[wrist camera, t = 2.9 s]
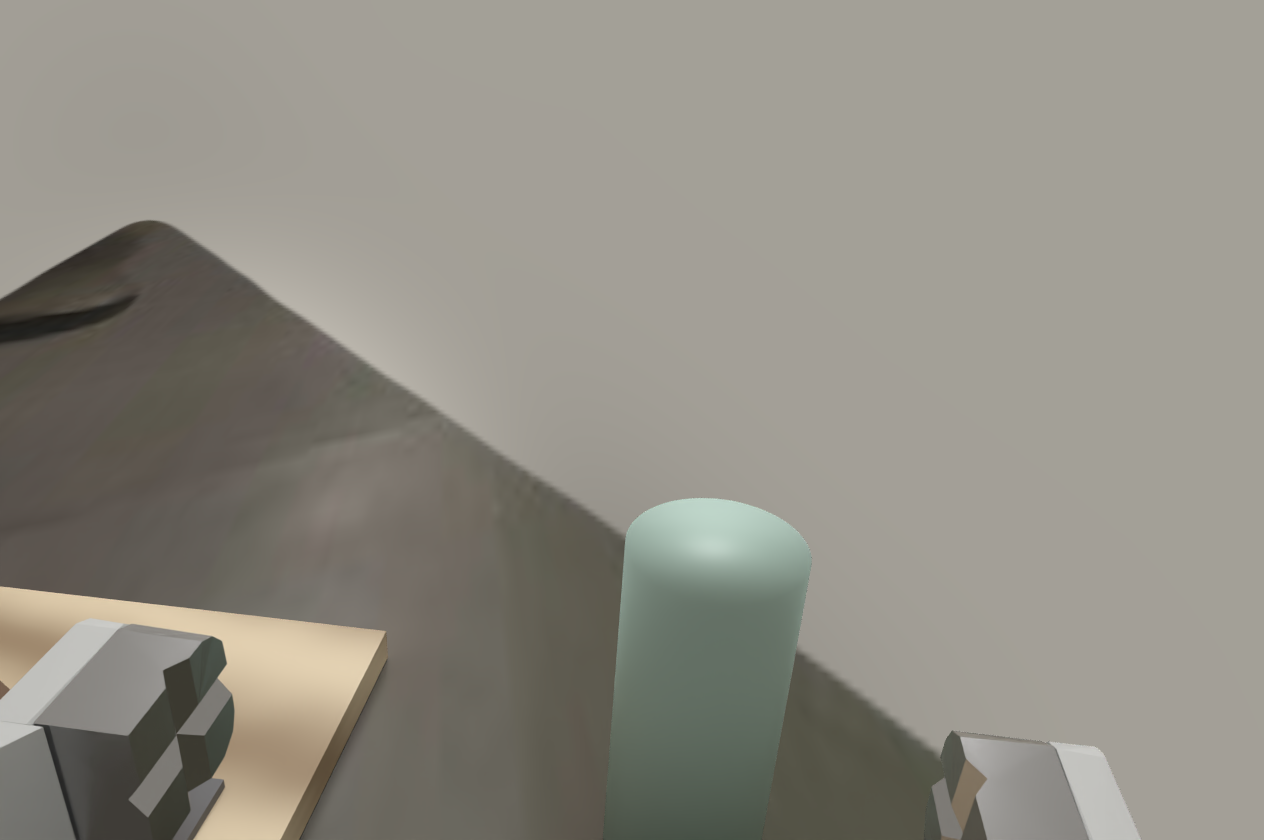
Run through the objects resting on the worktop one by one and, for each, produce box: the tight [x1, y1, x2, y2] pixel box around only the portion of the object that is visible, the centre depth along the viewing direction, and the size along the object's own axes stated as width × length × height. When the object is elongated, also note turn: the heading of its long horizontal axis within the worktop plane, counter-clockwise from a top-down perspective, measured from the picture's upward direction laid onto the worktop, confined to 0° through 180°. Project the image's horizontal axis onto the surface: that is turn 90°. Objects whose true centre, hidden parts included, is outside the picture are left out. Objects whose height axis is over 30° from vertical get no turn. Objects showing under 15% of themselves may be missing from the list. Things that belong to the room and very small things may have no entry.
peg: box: [603, 498, 812, 840], centre depth 26 cm, size 4×4×11 cm
